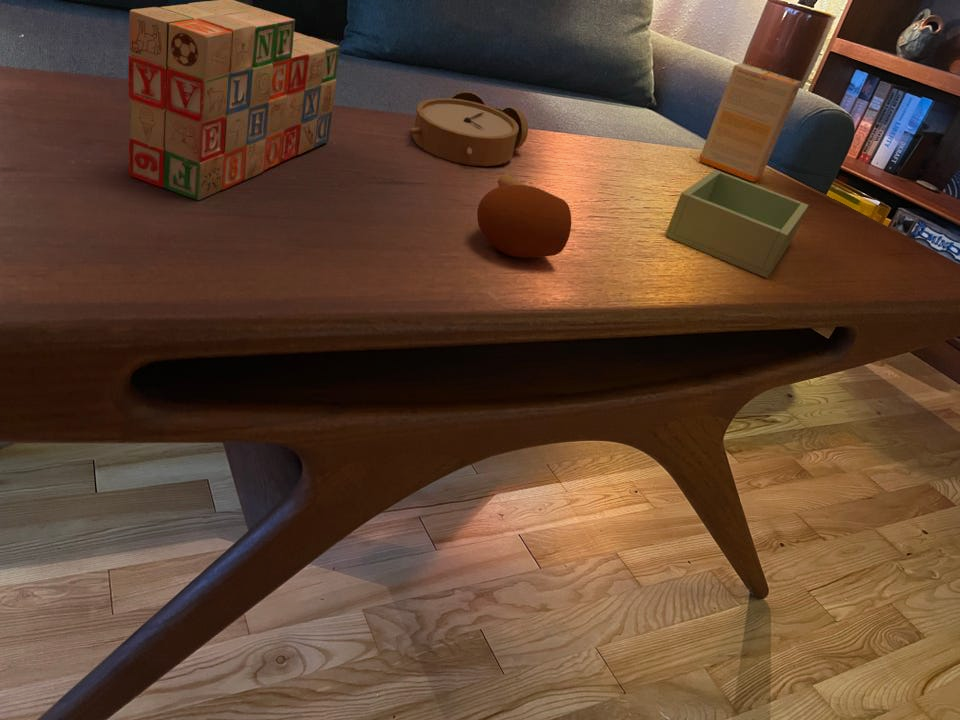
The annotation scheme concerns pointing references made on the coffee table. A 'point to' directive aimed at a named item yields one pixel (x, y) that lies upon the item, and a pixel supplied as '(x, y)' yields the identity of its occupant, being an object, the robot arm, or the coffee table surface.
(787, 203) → the box
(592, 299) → the coffee table surface
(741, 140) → the supplement box
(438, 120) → the alarm clock
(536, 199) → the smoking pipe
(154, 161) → the stack of blocks
